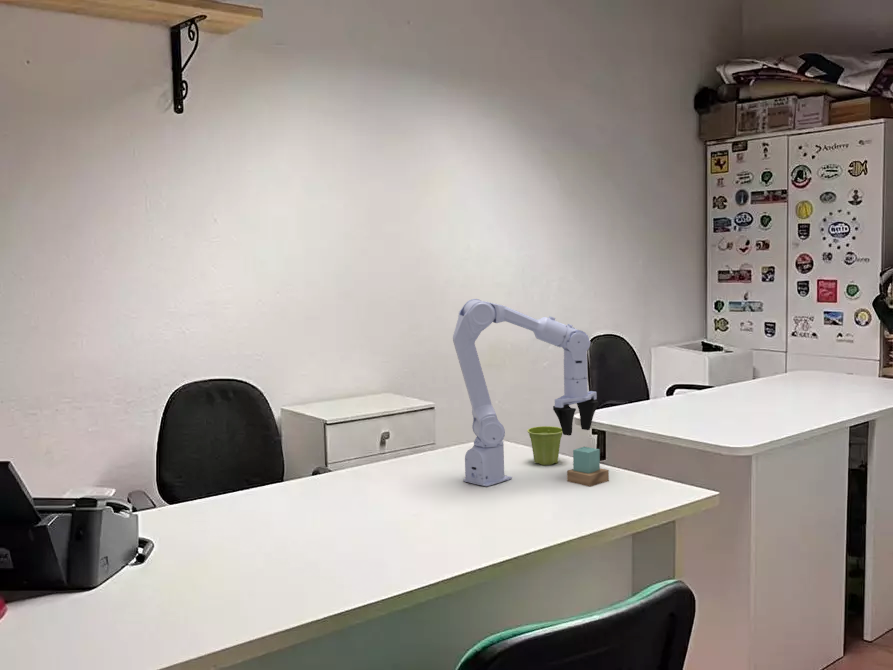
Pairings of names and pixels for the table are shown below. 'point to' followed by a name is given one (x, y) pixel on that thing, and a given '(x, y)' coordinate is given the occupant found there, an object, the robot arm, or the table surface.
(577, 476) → the walnut slab
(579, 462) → the teal cube
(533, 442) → the plant pot
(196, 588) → the table surface
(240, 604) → the table surface
